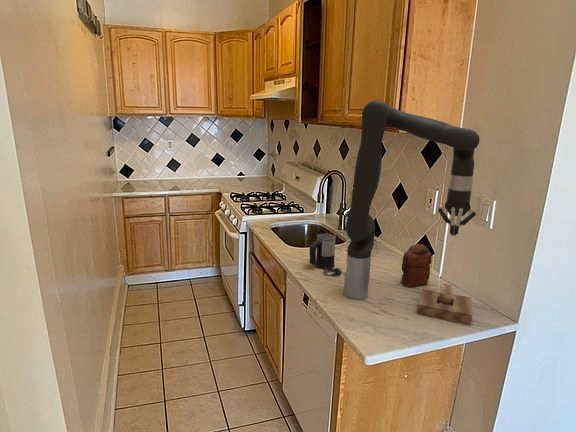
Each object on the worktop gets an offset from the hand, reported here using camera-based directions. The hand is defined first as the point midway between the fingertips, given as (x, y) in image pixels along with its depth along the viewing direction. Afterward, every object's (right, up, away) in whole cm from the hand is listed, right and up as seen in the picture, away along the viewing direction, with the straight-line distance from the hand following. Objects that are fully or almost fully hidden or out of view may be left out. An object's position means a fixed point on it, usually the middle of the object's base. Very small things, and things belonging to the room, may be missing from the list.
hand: (453, 235), depth 140 cm
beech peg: (-2, -29, +5) cm, 29 cm away
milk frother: (-41, -18, +42) cm, 61 cm away
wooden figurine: (-6, -23, +27) cm, 36 cm away
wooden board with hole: (-1, -29, +5) cm, 29 cm away
